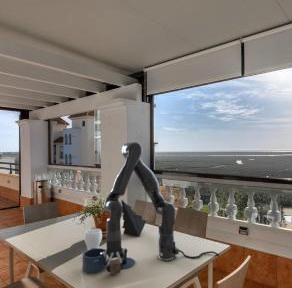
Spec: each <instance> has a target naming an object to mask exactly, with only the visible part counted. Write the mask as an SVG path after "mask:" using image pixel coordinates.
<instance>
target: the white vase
mask: <svg viewBox="0 0 292 288" xmlns="http://www.w3.org/2000/svg"><path fill="white" fill-rule="evenodd" d="M83 237H84V238H83V239H84V243H85V245H86V248H87V250H90V249H92V248H100V244H101V242H102V241H103V240H102V239H103V233H102V229H101V228H90V229H87V230H85V231H84V236H83Z"/></svg>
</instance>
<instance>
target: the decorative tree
mask: <svg viewBox="0 0 292 288" xmlns="http://www.w3.org/2000/svg"><path fill="white" fill-rule="evenodd" d="M120 202H121V203H122V206H123V211H122V221H123V222H122V223H123V224H122V226H121V228H122V229H123V233H122V235H124V236H130V237H131V236H132V237H137V238H140V236H141V234H142V232H143V230H144V227H145V225H146V223H147V220H145V219H143V216H142V215H140V214H137V212H136V211H134V210H133V209H132V206H130V205H129V204H127V203H126V202H125V201H124V200H123V199H120Z"/></svg>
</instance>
